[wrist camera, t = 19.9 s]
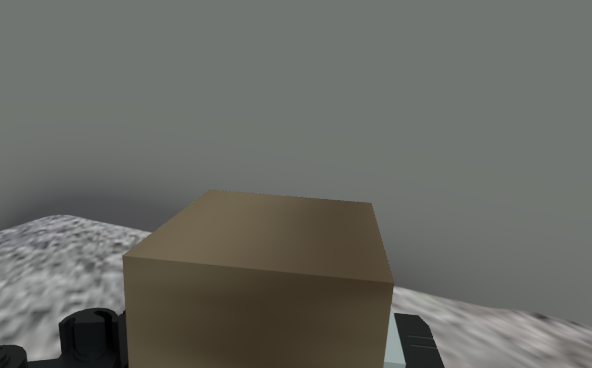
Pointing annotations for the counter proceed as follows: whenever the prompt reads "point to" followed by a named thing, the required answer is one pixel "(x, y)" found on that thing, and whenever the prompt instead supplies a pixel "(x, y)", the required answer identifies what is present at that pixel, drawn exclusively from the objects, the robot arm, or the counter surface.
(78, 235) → the counter surface
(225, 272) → the walnut block
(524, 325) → the counter surface
